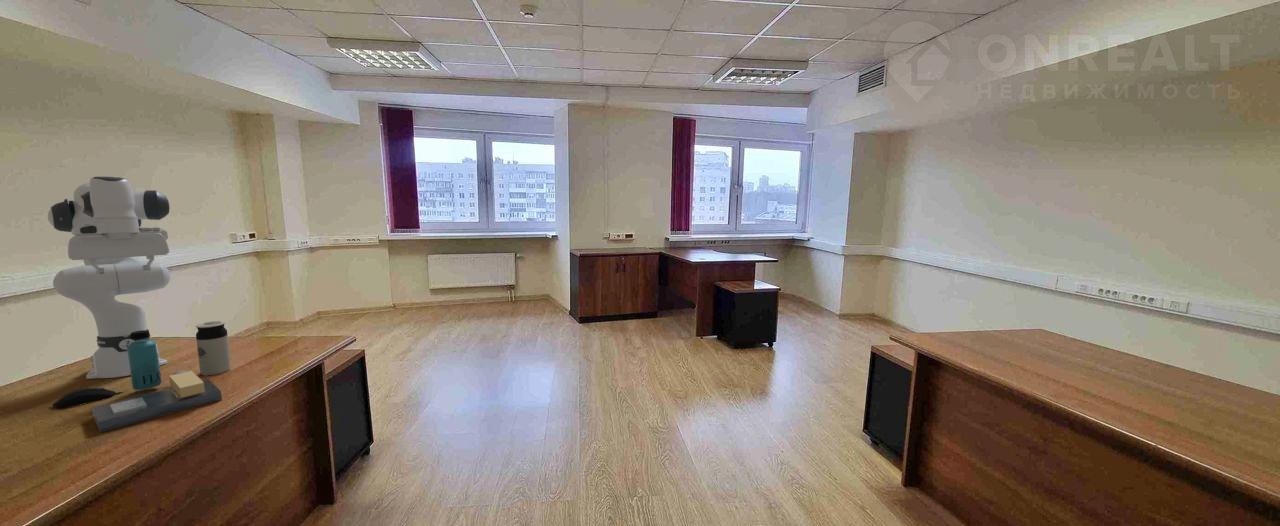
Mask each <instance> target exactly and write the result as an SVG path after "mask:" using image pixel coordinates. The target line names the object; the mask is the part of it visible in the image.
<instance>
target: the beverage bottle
mask: <svg viewBox="0 0 1280 526" xmlns="http://www.w3.org/2000/svg"><path fill="white" fill-rule="evenodd" d="M148 330H149V329H148ZM148 330H141V331H135V332H132V333H131V337H130V339H132V340H136V339H144V338H148V337H150V338H151V333H150V334H149V332H150V331H148ZM156 344H157V342H156V341H154V340H152V339H149V340H140V341H135V342H132V343H131V344H129V345H128V346H127V351H128V357H129V364H130V372H131V375H130V381H131V387H132V389H133V390H134V391H143V390H149V389H153V388H156V387H158V386H160V385H162V384H161V383H162V373H161V369H160V366H159V362H158V358H160V356H159V357H158V354H157V350H158V351H159V348H158V349H157V348H156Z"/></svg>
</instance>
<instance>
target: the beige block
mask: <svg viewBox="0 0 1280 526" xmlns="http://www.w3.org/2000/svg"><path fill="white" fill-rule="evenodd" d="M168 378H169V384H170V386H171V387H172V388H174V390H175V391H176V392H177V393H178V394H179V395H180V397H181V398H182V397H186V396H190V395H194V394H198V393H202V392H205V388H204V382H203V381H204V380H202V379H201V378H200V377H199V376H198V375H197V374H196V373H195V372H194V371H192V370H189V371H187V370H178V371H174V372H173V373H172V374H169V375H168Z"/></svg>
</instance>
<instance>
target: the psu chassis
mask: <svg viewBox="0 0 1280 526" xmlns="http://www.w3.org/2000/svg"><path fill="white" fill-rule="evenodd" d="M202 381H203V382H204V388H205V392H202V393H198V394H194V395H190V396H186V397H182V398H181V397H180V395H179V394H178V393H177V392H176V391H175V390H174V388H173V387H172V388H171V387H170V388H168V389H163V390H160V391H154V392H151V393H146V394H142V395H141V394H140V395H138V396H134V397H129V398H125V399H120V400H117V401H116V400H115V401H112V402H108V403H103V404H100V405H95V406H92V407H91V410H92V417H93V419H94V421H95V424H96V426H97V428H98V431H99V433H103V432H107V431H110V430H113V429H114V430H115V429H118V428H121V426H122V427H126V426H129V424H130V425H133V424H136V423H141V422H144V420H145V421H148V420H151V418H152V419H155V417H156V418H159V416H160V417H163V416H166V414H167V415H170V414H169V413H171V414H174V413H173V412H175V413H179V412H182V411H185V409H186V410H189V409H188V408H190V409H193V408H192V407H194V408H197V407H201V406H204V404H205V405H208V404H209V405H210V404H213V403H216V402H219V401H222V400H223V398H222V392H221V390H220V389H219V388H218V387H217V386H216V385H215V384H214V383H213V382H212V381H211V380H210V379H206V380H202ZM200 405H201V406H200ZM196 406H197V407H196ZM181 410H182V411H181ZM162 415H163V416H162ZM147 419H148V420H147ZM140 421H141V422H140ZM125 425H126V426H125Z"/></svg>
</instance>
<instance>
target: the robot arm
mask: <svg viewBox="0 0 1280 526" xmlns="http://www.w3.org/2000/svg"><path fill="white" fill-rule="evenodd" d="M72 197H73V200H68V198H65V199H64V200H63V201H61V202H57V203H55V204H53V205H52V206H50V209H49V211H48V212H47V220H48V223H49V224H50V225H51V226H53V229H55V230H56V231H60V232H65V233H66V232H67V233H71V234H72V235H74V236H71V238H70V239H69V240H68V244H67V245H68V246H67V256H68V259H70V260H72V261H83V264H84V265H81V266H74V267H69V268H64V269H61V270H59V272H58V273H56V275H55V276H54V277H53V281H52V282H53V283H52V285H53V288H54V291H55V292H57V293H58V294H59V295H61V296H62V297H64V298H67V299H70V300H73V301H76V302H78V303H79V304H81V305H83V306H84V307H86V308H87V309H88V311H90V312H91V314H92V316H93V318H94V321H95V324H96V329H97V330H96V331H97V334H98V335H97V336H96V343H97V346H98V349H97V350H96V351H94V353H93V354H92V355H90V356H89V359H90V363H92V365H91V368H90V370H89V372H88V373H87V374H86V375H85V376H86V377H85V379H86V380H89V379H90V380H91V379H113V378H121V377H127V376H131V372H130V364H129V357H128V351H127V346H128V345H129V344H131V343H132V342H135V341H140V340H151V336H150V337H148V338H144V339H136V340H132V339H130V337H131V333H132V332H135V331H141V330H148V331H149V328H147V320H146V313H145V311H144V308H143V307H141V306H139V305H137V304H132V303H128V302H121V301H118V300H116V298H115V297H116V296H119V295H132V294H141V293H148V292H151V291H152V292H153V291H157V290H161V289H164V288H165V287H167V285H168V284H169V283H170V280H171V273H170V271H169V269H168V268H167V267H166V265H164V264H162V263H160V262H154V260H155V256H167V255H168V254H169V253H170V247H169V244H168V242H167V240H168V239H169V236H168V231H167V230H165V229H163V228H160V227H141V226H142V223H143V221H144V220H150V221H151V220H153V221H160V220H162V219H164V218H166V217H167V216H168V215H169V213H170V210H171V209H170V208H171V206H170V205H171V204H170V201H169V200H168V197H167V196H166V195H165V194H163V193H162V192H161V191H160V192H159V191H158V190H156V189H155V190H152V189H151V190H133V189H132V185H131V183H130V181H129V180H128V179H126V178H124V177H119V176H118V177H116V176H94V177H91V178H90V181H89V182H86V183H83V184H81V185H79V186H78V187H76V188H75V190H74V191H73V196H72ZM138 257H146V260H144V259H140V258H138ZM149 334H150V335H151V332H150V331H149ZM156 348H157V349H158V350H157V354H158V357H159V358H158V362H159V367H161V366H163V365H165V364H168V360H167V359H164V358H161V357H160V353H159V348H158V344H157V343H156Z"/></svg>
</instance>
